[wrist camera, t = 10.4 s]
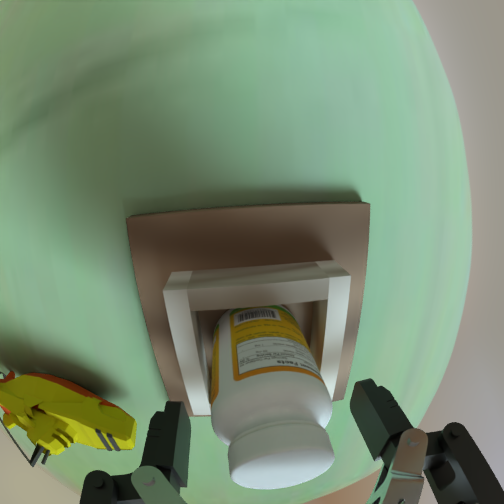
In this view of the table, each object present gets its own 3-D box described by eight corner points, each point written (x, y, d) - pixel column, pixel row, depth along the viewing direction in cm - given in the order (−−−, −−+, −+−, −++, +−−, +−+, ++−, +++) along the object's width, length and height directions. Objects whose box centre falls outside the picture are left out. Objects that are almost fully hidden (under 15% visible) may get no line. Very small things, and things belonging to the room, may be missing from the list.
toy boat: (-5, 345, 17) (-52, 399, 7) (135, 376, 18) (101, 479, 9) (17, 390, 19) (-18, 445, 9) (151, 423, 20) (134, 511, 11)
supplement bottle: (255, 377, 18) (277, 500, 9) (195, 336, 16) (180, 476, 7) (314, 329, 17) (375, 451, 8) (256, 279, 15) (295, 420, 6)
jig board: (131, 215, 15) (108, 227, 11) (362, 201, 16) (392, 210, 12) (177, 407, 20) (172, 439, 16) (339, 391, 20) (353, 419, 17)
